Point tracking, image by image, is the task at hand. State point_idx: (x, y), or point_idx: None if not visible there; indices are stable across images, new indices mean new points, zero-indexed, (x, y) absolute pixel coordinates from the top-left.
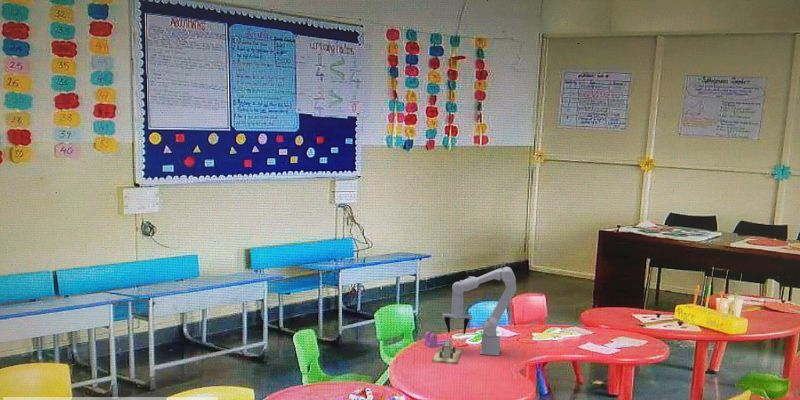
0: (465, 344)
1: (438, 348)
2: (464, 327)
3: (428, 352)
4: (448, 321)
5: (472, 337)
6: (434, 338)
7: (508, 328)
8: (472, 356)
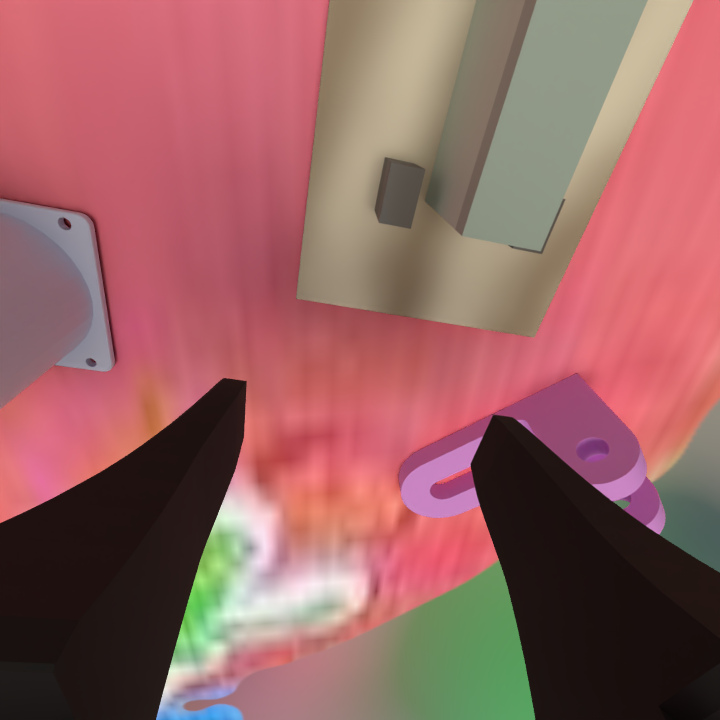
0: (273, 473)
1: (539, 317)
2: (176, 458)
3: (655, 235)
4: (712, 624)
5: (234, 586)
6: (579, 452)
7: None
8: (165, 119)
